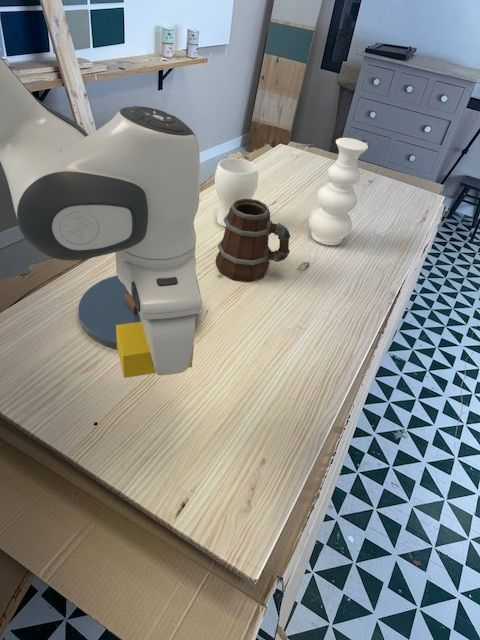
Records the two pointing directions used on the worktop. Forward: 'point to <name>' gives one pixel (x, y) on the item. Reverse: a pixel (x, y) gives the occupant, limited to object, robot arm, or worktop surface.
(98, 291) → the plate
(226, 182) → the cup
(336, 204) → the vase
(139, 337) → the yellow block
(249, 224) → the mug
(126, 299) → the brown box
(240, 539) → the worktop surface
